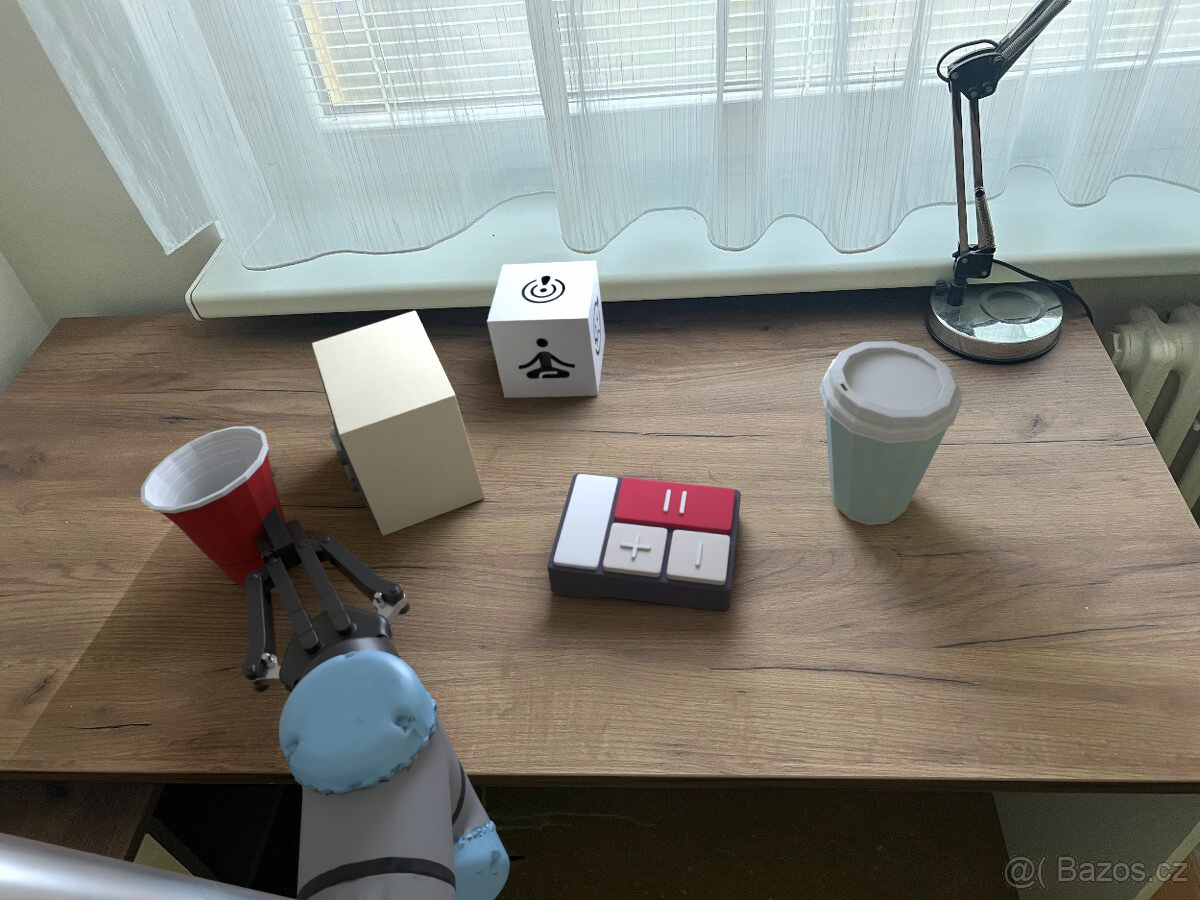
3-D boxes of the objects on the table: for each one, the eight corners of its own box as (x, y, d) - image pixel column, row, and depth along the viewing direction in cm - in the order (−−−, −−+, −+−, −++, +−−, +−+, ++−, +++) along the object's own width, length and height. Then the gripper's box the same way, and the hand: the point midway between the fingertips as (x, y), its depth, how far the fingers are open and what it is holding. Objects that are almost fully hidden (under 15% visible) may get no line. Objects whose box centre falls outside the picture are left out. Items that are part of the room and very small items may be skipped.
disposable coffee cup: (894, 446, 82) (919, 316, 72) (959, 528, 75) (997, 397, 64) (789, 476, 81) (799, 349, 70) (845, 564, 73) (865, 435, 63)
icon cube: (518, 339, 100) (502, 264, 93) (605, 336, 99) (596, 260, 92) (504, 397, 93) (486, 321, 86) (598, 395, 92) (587, 317, 85)
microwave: (372, 540, 80) (327, 438, 71) (343, 446, 90) (300, 346, 81) (485, 498, 83) (455, 395, 74) (445, 411, 92) (415, 310, 83)
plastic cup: (234, 524, 84) (177, 425, 77) (336, 521, 82) (288, 418, 75) (178, 610, 76) (108, 508, 69) (290, 609, 74) (230, 503, 67)
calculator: (731, 586, 68) (545, 563, 71) (728, 617, 71) (549, 594, 74) (742, 483, 76) (573, 465, 78) (738, 515, 79) (576, 497, 81)
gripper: (295, 787, 61) (211, 572, 77) (460, 689, 66) (349, 503, 81) (255, 736, 56) (173, 516, 71) (436, 634, 60) (323, 446, 75)
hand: (267, 509), depth 76 cm, fingers closed
